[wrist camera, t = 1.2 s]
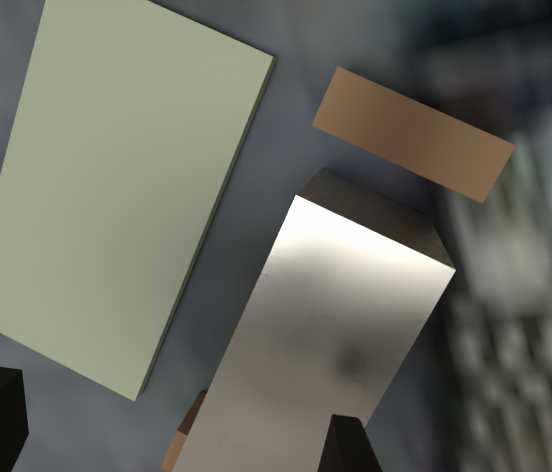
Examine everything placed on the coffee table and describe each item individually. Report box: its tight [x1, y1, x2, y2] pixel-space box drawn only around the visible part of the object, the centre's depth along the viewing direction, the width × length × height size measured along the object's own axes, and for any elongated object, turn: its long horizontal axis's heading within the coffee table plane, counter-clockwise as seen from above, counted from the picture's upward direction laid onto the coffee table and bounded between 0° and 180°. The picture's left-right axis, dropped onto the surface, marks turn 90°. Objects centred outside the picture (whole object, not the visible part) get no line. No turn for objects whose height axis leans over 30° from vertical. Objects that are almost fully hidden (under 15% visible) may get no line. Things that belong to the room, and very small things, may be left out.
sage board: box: [0, 0, 277, 401], centre depth 21 cm, size 9×16×1 cm, turn 157°
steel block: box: [172, 168, 456, 472], centre depth 18 cm, size 4×10×7 cm, turn 157°
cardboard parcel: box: [161, 66, 516, 472], centre depth 20 cm, size 6×17×3 cm, turn 157°
